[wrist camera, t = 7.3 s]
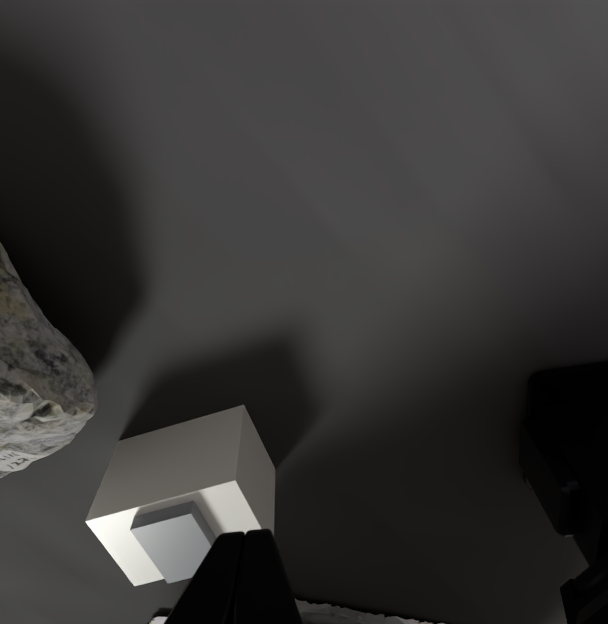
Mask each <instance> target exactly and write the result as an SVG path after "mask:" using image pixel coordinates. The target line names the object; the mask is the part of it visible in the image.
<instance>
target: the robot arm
mask: <svg viewBox="0 0 608 624" xmlns="http://www.w3.org/2000/svg"><path fill="white" fill-rule="evenodd" d="M544 381H546V382H545V383H544V384H543V385H540V386H538V385H539V384H540V383H541V382H544ZM519 464H520V466H521V468H522V470H523V480H524V482H525V484H526V486H527V487H528V488H530V489H533V490H534V492H535V494H536V496H537V497H538V499H539V501H540V503H541V505H542V507H543V508H544V510H545V512H546V514H547V516H548V518H549V520H550V521H551V523H552V525H553V527H554V529H555V531H556V532H557V533H558V534H559V535H561V536H562V537H571V536H572V537H573V538H574V540H575V542H576V544H577V545H578V547H579V549H580V551H581V552H582V554H583V556H584V558H585V559H586V561H587V563H588V565H589V567H588V568H587V569H586V570H584V571H583V572H582V573H581V574H580V575H578V576H577V577H576V578H575V579H569V580H568V581H567V582H566V583H565V584H563V585H562V586H561V587H560V591H561V596H562V601H563V605H564V610H565V614H566V619H567V624H608V362H602V363H594V364H587V365H580V366H573V367H566V368H559V369H552V370H544V371H539V372H536V373H534V374H533V375H532V376H531V377H530V378H529V381H528V393H527V411H526V417H524V419H523V420H522V422H521V431H520V451H519ZM164 624H303V622H302V619H301V616H300V613H299V610H298V607H297V604H296V601H295V598H294V595H293V592H292V589H291V587H290V584H289V581H288V578H287V575H286V572H285V569H284V566H283V563H282V560H281V557H280V554H279V551H278V548H277V545H276V542H275V540H274V537H273V534H272V531H271V530H270V529H268V528H266V529H256V530H249V531H247V532H246V534H245V533H244V532H242V531H237V532H227V533H222V534H220V535H219V536H218V537H217V538H216V540H215V541H214V543H213V544H212V546H211V548H210V549H209V551H208V553H207V554H206V556H205V557H204V559H203V561H202V562H201V564H200V565H199V567H198V569H197V570H196V572H195V574H194V575H193V577H192V578H191V580H190V582H189V583H188V585H187V586H186V588H185V590H184V591H183V593H182V595H181V596H180V598H179V599H178V601H177V603H176V604H175V606H174V607H173V609H172V611H171V612H170V614H169V615H168V617H167V619H166V620H165V622H164Z"/></svg>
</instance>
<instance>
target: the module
mask: <svg viewBox="0 0 608 624" xmlns="http://www.w3.org/2000/svg"><path fill="white" fill-rule="evenodd" d="M274 509H275V468H274V465H273V463H272V461H271V459H270V457H269V455H268V453H267V451H266V449H265V447H264V445H263V443H262V441H261V439H260V437H259V435H258V432H257V430H256V428H255V426H254V424H253V422H252V420H251V418H250V416H249V414H248V412H247V410H246V408H245V406H244V405H241V406H237V407H234V408H230V409H227V410H223V411H220V412H217V413H213V414H210V415H206V416H203V417H199V418H196V419H193V420H189V421H186V422H182V423H179V424H175V425H172V426H168V427H165V428H162V429H158V430H155V431H151V432H148V433H144V434H141V435H138V436H134V437H131V438H127V439H124V440H120V441H118V443H117V446H116V448H115V450H114V453H113V455H112V458H111V460H110V463H109V465H108V467H107V470H106V472H105V475H104V477H103V480H102V482H101V484H100V487H99V489H98V492H97V494H96V497H95V499H94V501H93V504H92V506H91V509H90V511H89V513H88V516H87V518H86V521H85V522H86V523H87V524H88V526H89V527H90V528H91V530H92V531H93V532H94V534H95V535H96V536H97V537H98V539H99V540H100V541H101V543H102V544H103V545H104V547H105V548H106V549H107V551H108V552H109V553H110V555H111V556H112V557H113V559H114V560H115V561H116V562H117V564H118V565H119V566H120V568H121V569H122V570H123V572H124V573H125V574H126V576H127V577H128V578H129V580H130V581H131V582H132V584H133V585H134V586H137V585H141V584H145V583H149V582H153V581H157V580H161V579H165V580H166V581H167V583H172V582H176V581H180V580H184V579H188V578H192V577H193V575H194V574H195V572H196V570H197V569H198V567H199V565H200V564H201V562H202V561H203V559H204V557H205V556H206V554H207V553H208V551H209V549H210V548H211V546H212V544H213V543H214V541H215V540H216V538H217V537H218V536H219V535H220V534H222V533H227V532H237V531H242V532H244V533H245V534H246V532H247V531H249V530H256V529H266V528H268V529H270V530H271V531H272V534H273V537H274Z"/></svg>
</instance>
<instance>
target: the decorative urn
mask: <svg viewBox="0 0 608 624" xmlns="http://www.w3.org/2000/svg"><path fill="white" fill-rule="evenodd" d="M295 601H296V604H297V607H298V610H299V613H300V616H301V619H302V622H303V624H432V622H431V623H427V622H426V621H425V622H422V623H418V622H419V621H415V620H414V619H409V620H405V619H402V618H400V617H397V616H392V617H389V616H388V617H386V618H384V614H379V615H376V616H375V615H373V614H371V613H363V612H359V611H354V610H350V609H348V608H346V607H345V608H340V606H337V605H336V606H335V607H331V604H330V605H328V604H321V605H317V604H316V603H313V604H309V603H307V601H299V600H296V599H295ZM166 619H167V617H156V618H154V621H151V623H149V624H164V622H165V620H166ZM439 624H445V623H439Z"/></svg>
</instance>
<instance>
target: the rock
mask: <svg viewBox="0 0 608 624" xmlns="http://www.w3.org/2000/svg"><path fill="white" fill-rule="evenodd" d="M97 407H98V392H97V387H96V382H95V378H94V374H93V372H92V371H91V369H90V367H89V366H88V364H87V363H86V361H85V359H84V358H83V356H82V355H81V353H80V352H79V351H78V350H77V349H76V348H75V346H74V345H73V344H72V343H71V342H70V340H69V339H67V338H66V337H65V336H64V335H63V334H62V333H61V332H60V331H59V330H57V329H56V328H54V327H53V326H52V325H51V323H50V322H49V321H48V320H47V318H46V317H45V316H44V315H43V313H42V311H41V309H40V308H39V306H38V305H37V304H36V302H35V301H34V300H33V299H32V297H31V295H30V293H29V291H28V289H27V288H26V287H25V286H24V285H23V284H22V281H21V280H20V278H19V276H18V274H17V272H16V270H15V268H14V267H13V265H12V263H11V261H10V259H9V257H8V254H7V252H6V251H5V249H4V247H3V246H2V244H1V242H0V478H2V477H4V476H6V475H7V474H9V473H11V472H13V471H18V470H23V469H24V468H26V467H27V466H28V465H29V464H30V463H31V462H32V461H35V460H38V459H40V458H43V457H46V456H49V455H50V454H52V453H54V452H55V451H57V450H59V449H61V448H62V447H63V446H65V445H67V444H69V443H70V442H71V441H72V440H73V438H74V437H75V434H77V433H78V432H79V431H80V430H81V429H82V428H83V426H84V425H85V424H86V421H87V420H88V419H89V418H91V417H92V416H94V414H95V412H96V409H97Z"/></svg>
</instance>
